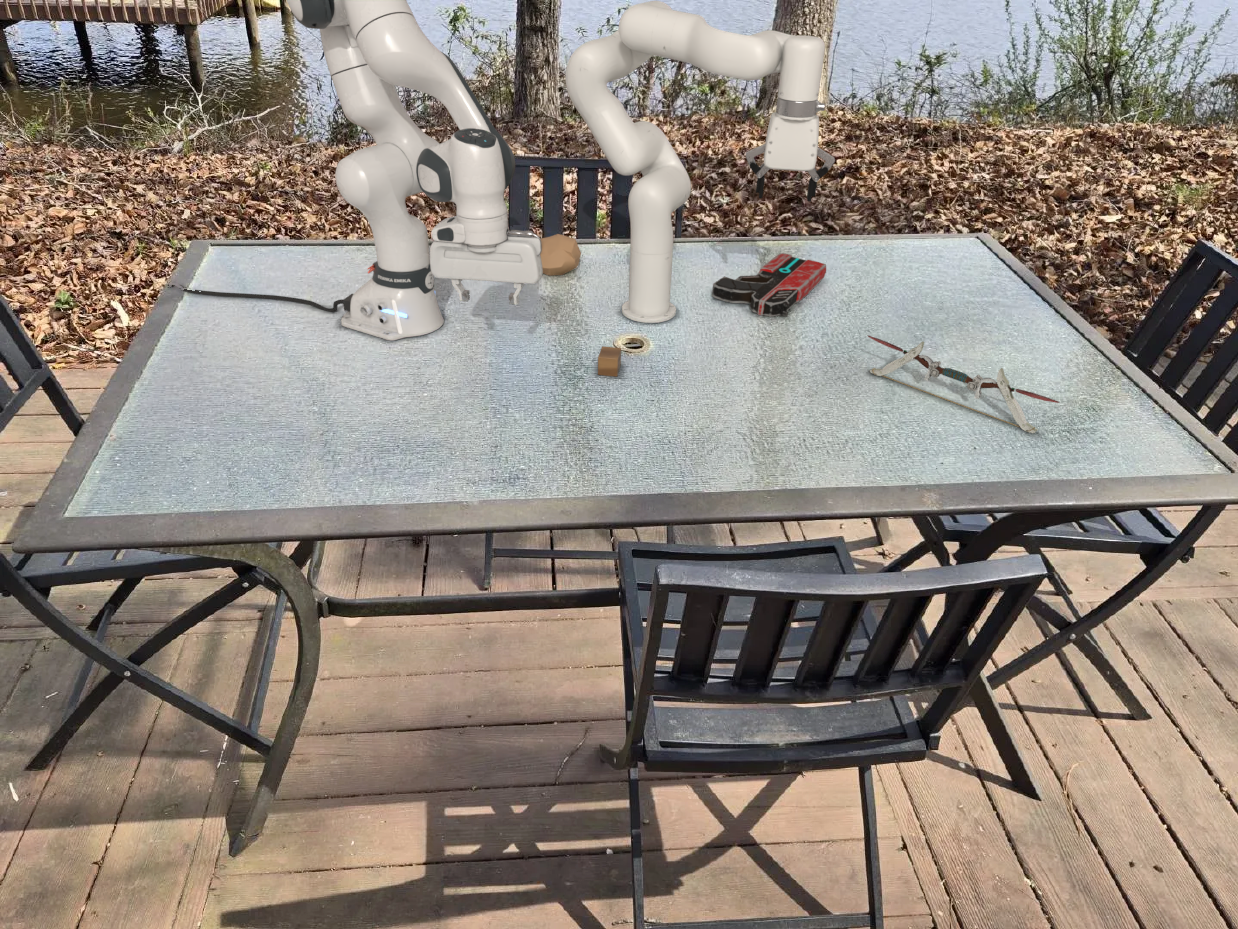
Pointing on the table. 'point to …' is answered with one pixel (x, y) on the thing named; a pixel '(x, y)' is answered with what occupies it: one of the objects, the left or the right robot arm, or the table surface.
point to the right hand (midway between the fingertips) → (784, 197)
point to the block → (609, 361)
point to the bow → (972, 384)
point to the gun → (772, 285)
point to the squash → (559, 254)
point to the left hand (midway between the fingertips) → (489, 302)
